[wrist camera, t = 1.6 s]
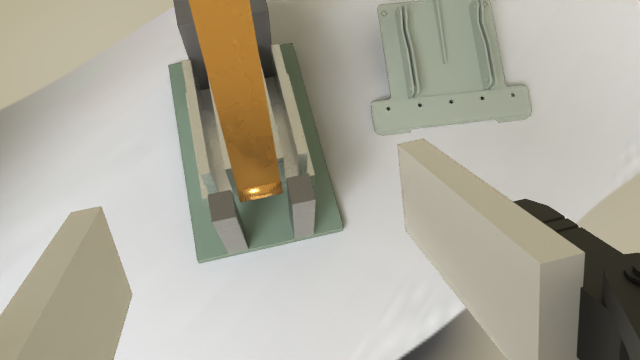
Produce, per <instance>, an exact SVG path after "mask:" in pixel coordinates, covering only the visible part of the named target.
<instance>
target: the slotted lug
mask: <svg viewBox="0 0 640 360" xmlns="http://www.w3.org/2000/svg"><path fill="white" fill-rule="evenodd" d="M249 1H250V6H251V12H252V18H253V24H254V29H255V35H256V41H257V47H258V53H259V57H260V62H261V66H262V70H263V74H264V78H269V77H274V76H273V66H272V56H271V34H270V23H269V13H268V7H267V3H266V0H249ZM174 7H175V13H176V19H177V25H178V28H179V31H180V34H181V37H182V40H183V43H184V46H185V49H186V52H187V54H188V57H189V60H191V63H192V66H193V69H194V72H195V75H196V78H197V81H198V83H199V86H200V89H201V90H204V89H210V86H209V81H208V75H207V71H206V67H205V63H204V59H203V55H202V51H201V47H200V43H199V39H198V36H197V32H196V28H195V24H194V20H193V16H192V12H191V8H190V4H189V0H174Z"/></svg>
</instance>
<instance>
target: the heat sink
mask: <svg viewBox="0 0 640 360" xmlns="http://www.w3.org/2000/svg"><path fill="white" fill-rule="evenodd" d="M271 56H272V66H273V76H274V77H269V78H264V74H263V70H262V66H261V70H262V76H263V81H264V87H265V93H266V99H267V105H268V110H269V116H270V122H271V128H272V134H273V139H274V145H275V151H276V157H277V162H278V168H279V174H280V180H281V185H282V190H283V191H287V195H288V206H289V217H290V221H291V225H292V230H293V234H294V238H295V239H296V238H301V237H305V236H309V235H314V221H315V203H316V199H315V195H314V191H313V187H312V185H315V173H314V169H313V166H312V162H311V158H310V154H309V150H308V147H307V143H306V139H305V135H304V131H303V128H302V124H301V120H300V116H299V112H298V109H297V105H296V101H295V97H294V93H293V90H292V86H291V82H290V78H289V75H288V74H287V73H286V69H285V65H284V61H283V57H282V54H281V50H280V46H279V44H275V45H271ZM259 58H260V57H259ZM260 64H261V62H260ZM182 67H183V73H184V79H185V86H186V92H187V93H185V94H186V100H187V107H188V113H189V119H190V125H191V131H192V138H193V144H194V150H195V156H196V163H197V169H198V175H199V181H200V187H201V194H202V199H203V201H204V203H205V205H206V207H207V208H208V207H209V208H210V214H211V220H212V223H213V225H214V227H215V229H216V231H217V233H218V235H219V237H220V238H221V240H222V242H223V244H224V246H225V248H226V250H227V252H228V253H229V254H230V253H234V252H239V251H243V250H248V244H247V239H246V234H245V229H244V225H243V222H242V219H241V216H240V214H239V211H238V208H237V205H236V201H240V200H239V196H238V191H237V187H236V183H235V180H234V176H233V172H232V168H231V164H230V160H229V156H228V152H227V148H226V145H225V141H224V137H223V133H222V129H221V125H220V121H219V117H218V113H217V109H216V106H215V102H214V98H213V94H212V90H211V86H210V82H209V86H210V89H204V90H201V89H200V86H199V83H198V81H197V78H196V75H195V72H194V69H193V66H192V63H191V60H184V61H182ZM207 75H208V74H207ZM208 81H209V78H208Z"/></svg>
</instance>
